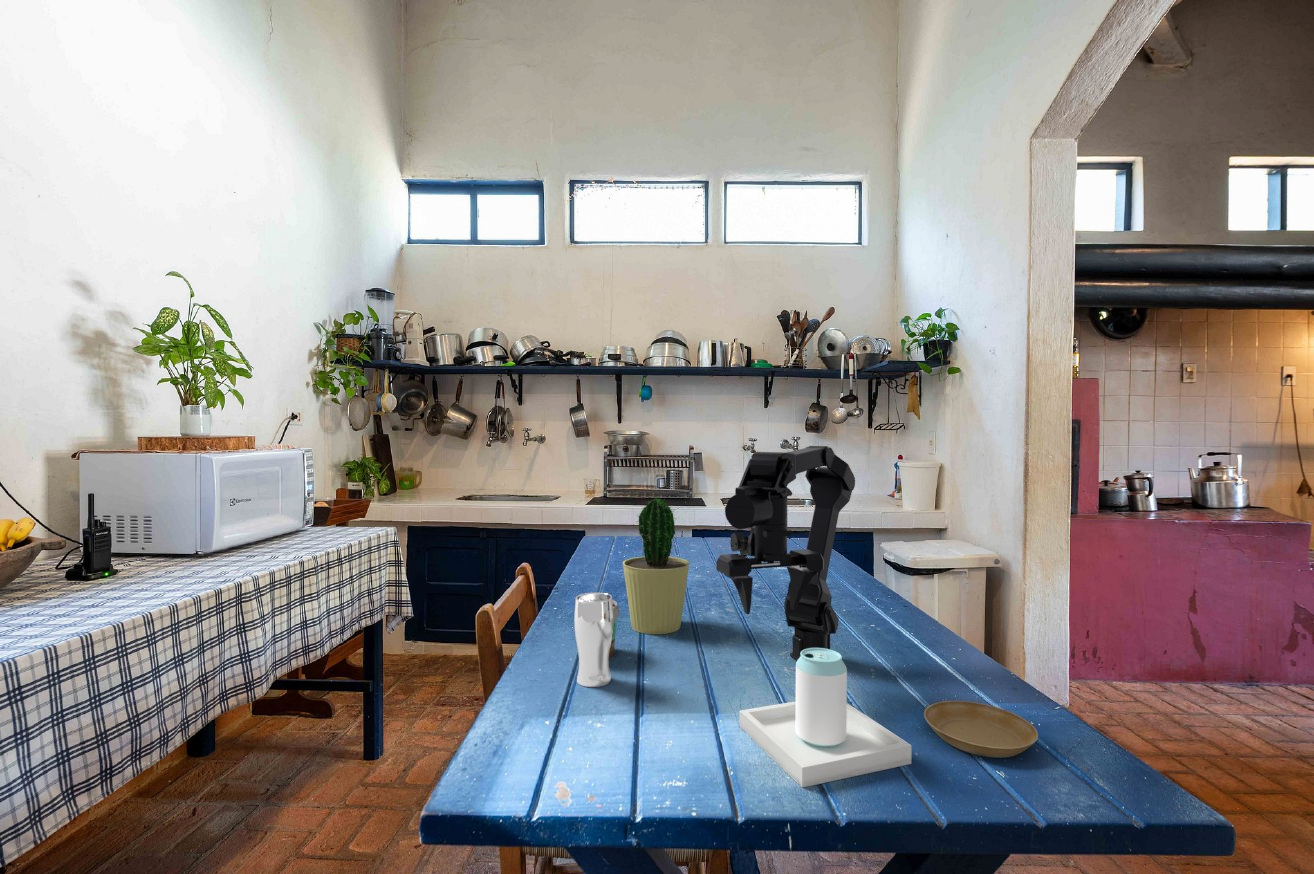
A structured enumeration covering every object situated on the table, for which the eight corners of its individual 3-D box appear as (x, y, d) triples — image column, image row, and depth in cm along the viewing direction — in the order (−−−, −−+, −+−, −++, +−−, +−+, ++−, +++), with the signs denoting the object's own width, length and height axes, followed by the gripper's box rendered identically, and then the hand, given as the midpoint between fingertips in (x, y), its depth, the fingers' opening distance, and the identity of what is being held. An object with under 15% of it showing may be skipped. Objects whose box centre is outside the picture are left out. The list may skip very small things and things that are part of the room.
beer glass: (620, 676, 112) (620, 594, 112) (600, 691, 106) (601, 604, 106) (587, 670, 115) (587, 590, 115) (566, 684, 109) (566, 599, 109)
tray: (834, 710, 99) (834, 694, 99) (911, 763, 83) (911, 745, 83) (739, 727, 93) (739, 710, 93) (802, 787, 77) (802, 767, 77)
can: (818, 754, 84) (818, 666, 84) (785, 732, 90) (785, 650, 90) (857, 743, 87) (857, 658, 87) (822, 722, 93) (823, 642, 93)
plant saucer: (1026, 779, 80) (1027, 759, 80) (909, 742, 89) (909, 724, 89) (1046, 737, 91) (1046, 719, 91) (940, 708, 101) (940, 692, 101)
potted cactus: (655, 612, 153) (655, 492, 153) (703, 626, 142) (703, 496, 142) (608, 626, 142) (608, 496, 142) (656, 642, 131) (656, 501, 131)
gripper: (791, 515, 120) (791, 595, 120) (703, 519, 114) (703, 604, 114) (826, 523, 109) (825, 611, 109) (731, 527, 103) (730, 621, 103)
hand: (770, 611), depth 109 cm, fingers open, 9 cm apart
